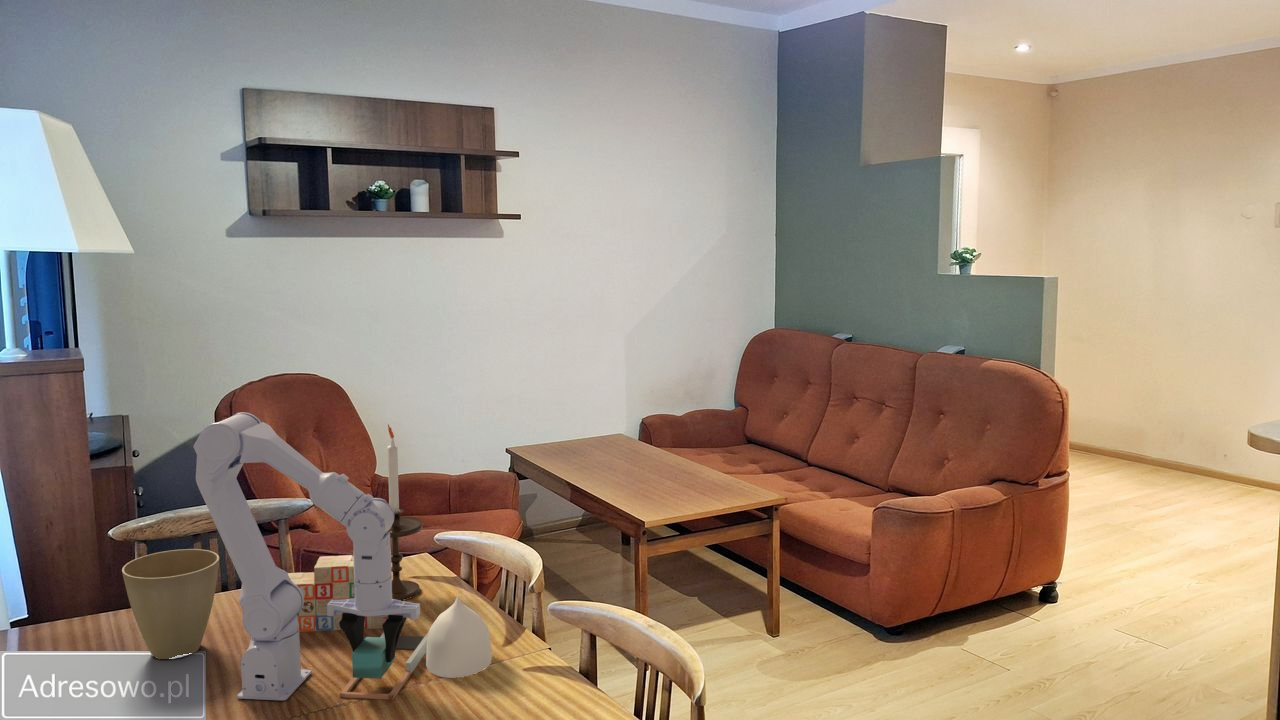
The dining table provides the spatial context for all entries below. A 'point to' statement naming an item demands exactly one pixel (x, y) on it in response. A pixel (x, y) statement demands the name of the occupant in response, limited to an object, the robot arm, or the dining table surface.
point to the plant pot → (172, 598)
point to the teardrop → (458, 643)
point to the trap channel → (420, 649)
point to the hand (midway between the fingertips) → (375, 658)
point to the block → (370, 659)
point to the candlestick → (399, 528)
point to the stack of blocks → (327, 593)
